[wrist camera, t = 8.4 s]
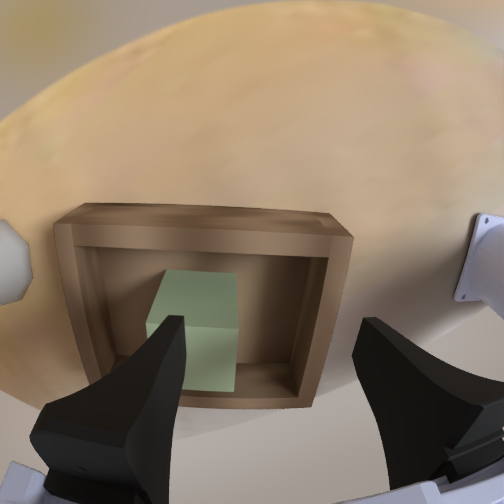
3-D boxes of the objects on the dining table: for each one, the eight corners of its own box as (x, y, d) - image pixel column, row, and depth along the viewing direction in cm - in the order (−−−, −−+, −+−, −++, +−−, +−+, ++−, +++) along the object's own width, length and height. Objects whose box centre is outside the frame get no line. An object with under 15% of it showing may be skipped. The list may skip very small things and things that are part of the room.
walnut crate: (329, 213, 20) (353, 237, 16) (300, 367, 25) (311, 407, 21) (85, 202, 19) (53, 223, 15) (108, 357, 24) (93, 395, 19)
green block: (236, 273, 20) (238, 329, 15) (232, 330, 22) (233, 391, 17) (166, 269, 20) (145, 322, 14) (169, 326, 22) (154, 386, 16)
